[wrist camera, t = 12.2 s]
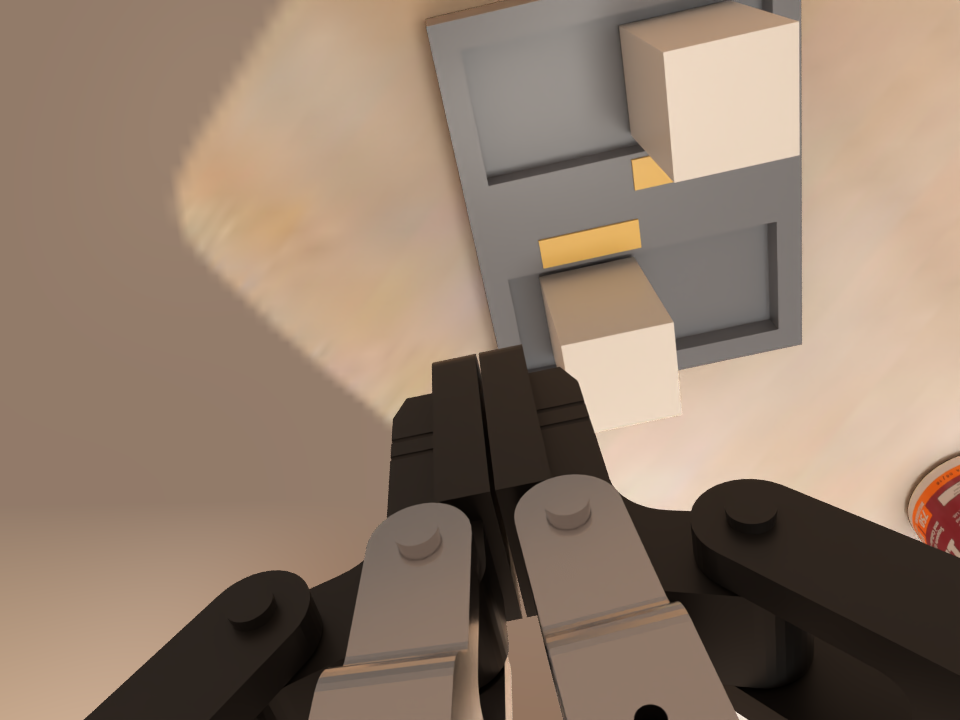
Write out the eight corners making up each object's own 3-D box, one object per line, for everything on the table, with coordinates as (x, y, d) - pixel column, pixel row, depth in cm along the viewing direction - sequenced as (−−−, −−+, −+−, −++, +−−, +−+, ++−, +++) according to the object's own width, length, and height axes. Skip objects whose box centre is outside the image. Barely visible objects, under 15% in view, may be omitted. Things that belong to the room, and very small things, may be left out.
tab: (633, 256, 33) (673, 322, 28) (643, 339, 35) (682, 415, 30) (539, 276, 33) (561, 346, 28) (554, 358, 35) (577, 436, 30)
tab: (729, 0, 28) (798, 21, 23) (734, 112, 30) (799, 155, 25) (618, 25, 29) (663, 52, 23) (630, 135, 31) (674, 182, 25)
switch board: (775, -63, 29) (802, -61, 27) (782, 321, 37) (802, 345, 35) (425, 18, 29) (425, 27, 27) (506, 379, 37) (511, 406, 35)
